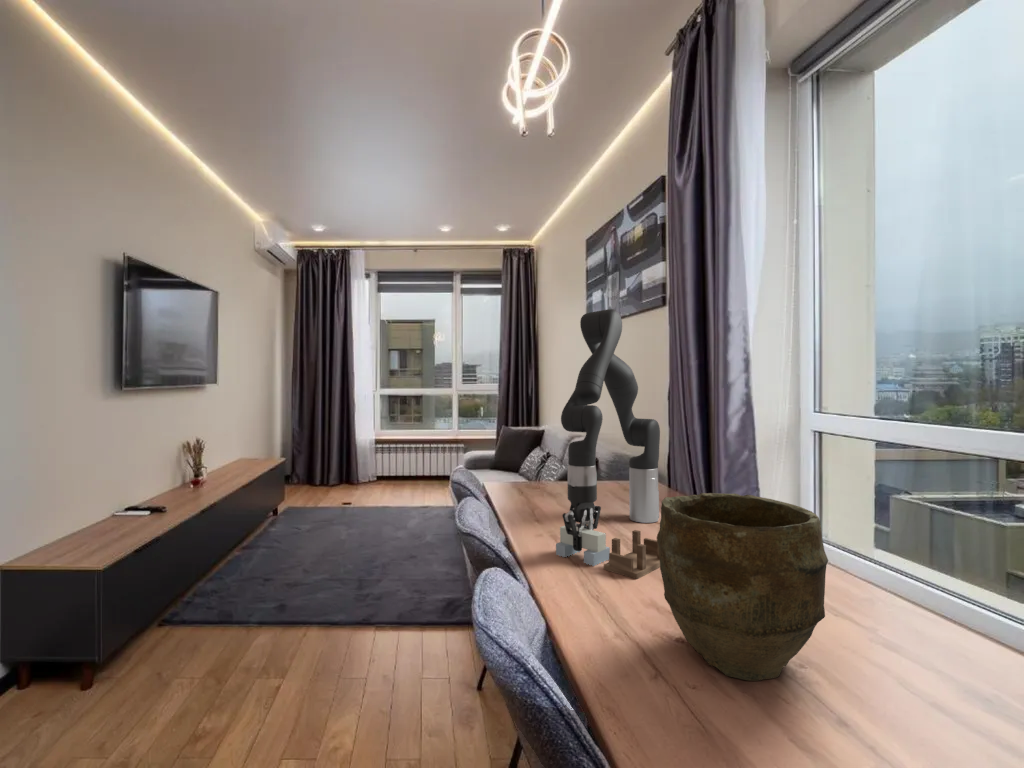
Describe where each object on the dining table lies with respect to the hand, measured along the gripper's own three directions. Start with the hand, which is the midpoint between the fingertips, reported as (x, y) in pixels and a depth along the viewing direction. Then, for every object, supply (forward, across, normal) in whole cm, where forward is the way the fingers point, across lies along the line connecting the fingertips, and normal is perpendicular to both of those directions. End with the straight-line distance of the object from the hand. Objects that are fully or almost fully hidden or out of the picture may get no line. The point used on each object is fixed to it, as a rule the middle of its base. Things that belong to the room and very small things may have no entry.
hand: (582, 548), depth 132 cm
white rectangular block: (-1, 0, 0) cm, 1 cm away
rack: (+2, -5, +14) cm, 15 cm away
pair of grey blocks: (+2, 0, 0) cm, 2 cm away
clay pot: (+3, +22, +48) cm, 52 cm away
